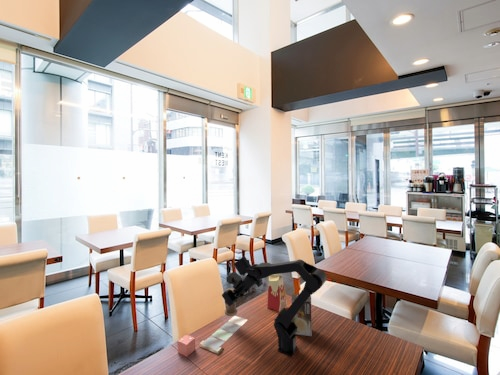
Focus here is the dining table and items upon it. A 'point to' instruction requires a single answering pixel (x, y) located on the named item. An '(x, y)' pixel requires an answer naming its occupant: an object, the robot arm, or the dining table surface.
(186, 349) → the die
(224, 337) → the board
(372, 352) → the dining table surface
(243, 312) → the dining table surface
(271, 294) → the milk carton
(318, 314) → the dining table surface
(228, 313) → the pawn
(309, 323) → the coffee box
